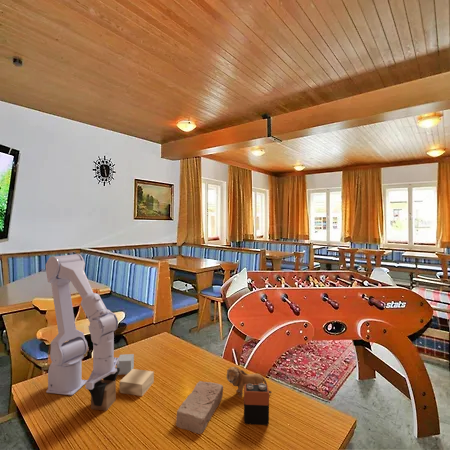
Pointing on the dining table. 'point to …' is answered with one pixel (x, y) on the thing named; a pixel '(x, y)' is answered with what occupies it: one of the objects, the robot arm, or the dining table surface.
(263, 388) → the battery
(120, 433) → the dining table surface
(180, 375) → the dining table surface
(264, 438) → the dining table surface
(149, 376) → the base block
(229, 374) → the lion figurine
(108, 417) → the dining table surface
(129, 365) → the slate block
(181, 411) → the brick
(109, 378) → the robot arm
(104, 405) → the walnut block
